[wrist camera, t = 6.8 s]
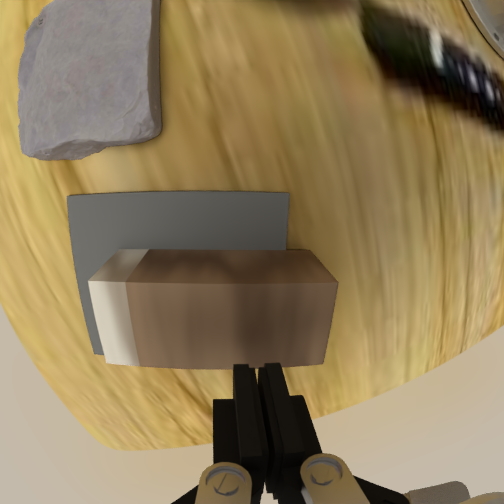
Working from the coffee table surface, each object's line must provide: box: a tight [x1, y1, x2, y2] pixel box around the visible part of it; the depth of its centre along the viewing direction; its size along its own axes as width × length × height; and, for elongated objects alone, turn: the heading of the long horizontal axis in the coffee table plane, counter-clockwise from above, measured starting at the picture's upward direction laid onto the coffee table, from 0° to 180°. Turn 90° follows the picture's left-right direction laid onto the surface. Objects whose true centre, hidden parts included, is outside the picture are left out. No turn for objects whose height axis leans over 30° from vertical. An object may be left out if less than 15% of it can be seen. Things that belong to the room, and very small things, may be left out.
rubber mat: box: [67, 191, 290, 355], centre depth 19 cm, size 14×12×1 cm
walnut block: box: [88, 249, 338, 369], centre depth 16 cm, size 5×5×12 cm
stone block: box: [18, 0, 162, 161], centre depth 13 cm, size 12×5×10 cm
